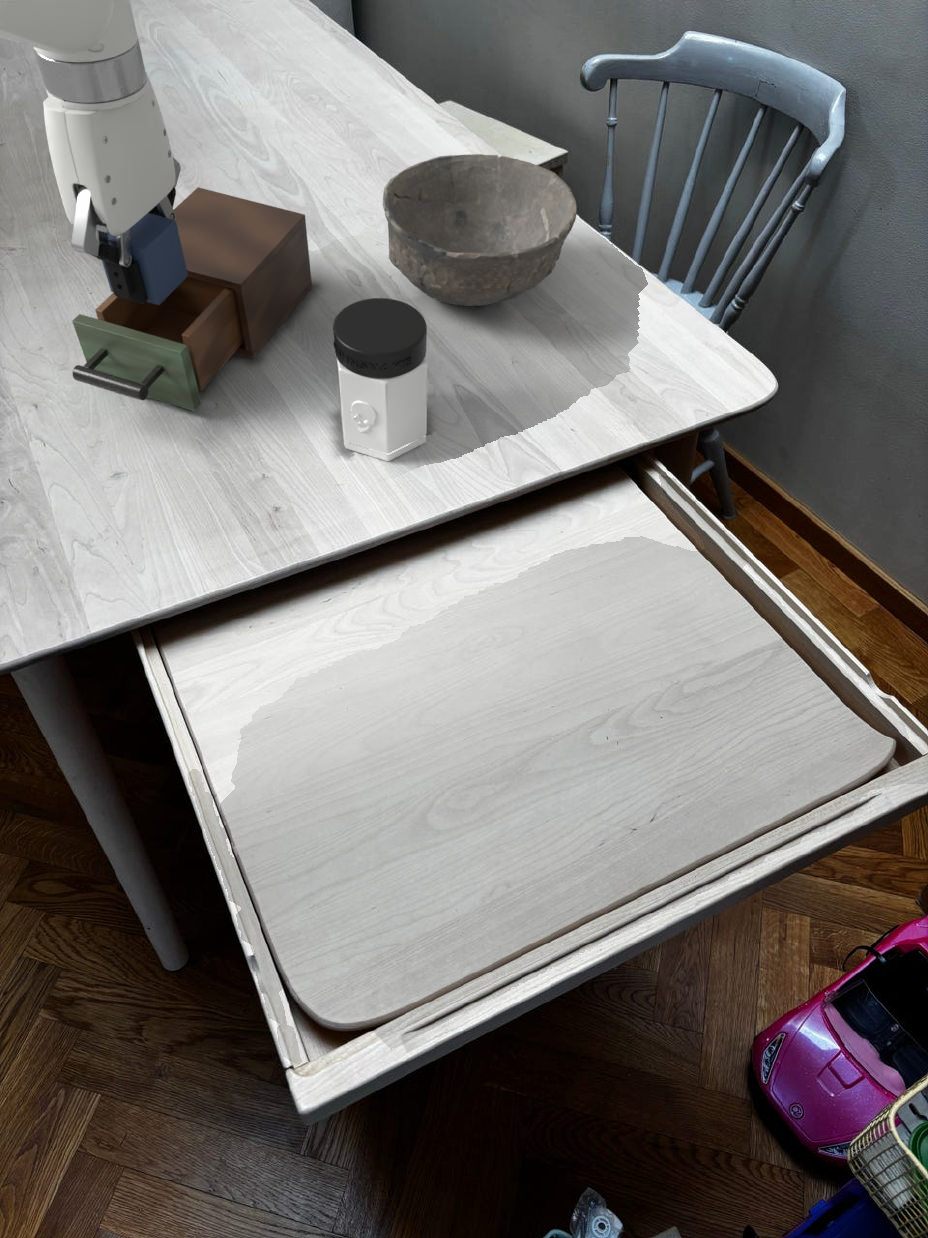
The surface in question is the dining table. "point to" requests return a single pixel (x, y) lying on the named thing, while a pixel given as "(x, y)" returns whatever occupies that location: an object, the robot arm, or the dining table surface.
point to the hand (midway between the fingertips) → (148, 279)
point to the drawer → (161, 343)
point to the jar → (381, 376)
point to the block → (156, 256)
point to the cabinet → (247, 258)
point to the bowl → (477, 226)
